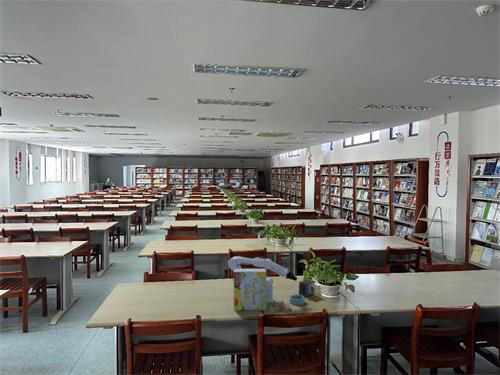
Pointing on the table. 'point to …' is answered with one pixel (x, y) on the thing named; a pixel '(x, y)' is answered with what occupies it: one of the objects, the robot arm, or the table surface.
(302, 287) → the small box
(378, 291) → the table surface
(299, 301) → the bowl
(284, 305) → the cover
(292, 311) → the mat
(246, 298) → the snack box
